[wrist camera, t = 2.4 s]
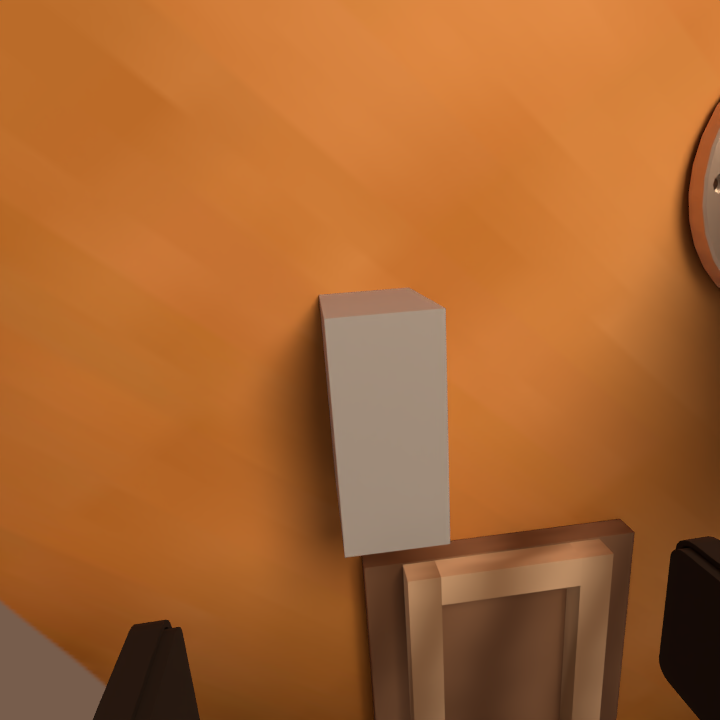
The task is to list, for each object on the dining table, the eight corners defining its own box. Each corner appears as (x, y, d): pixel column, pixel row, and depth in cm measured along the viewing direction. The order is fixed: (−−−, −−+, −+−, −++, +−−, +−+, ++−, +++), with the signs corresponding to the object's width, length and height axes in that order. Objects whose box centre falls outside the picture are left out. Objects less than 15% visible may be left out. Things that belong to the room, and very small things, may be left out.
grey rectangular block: (408, 287, 22) (445, 308, 16) (415, 474, 24) (450, 550, 18) (318, 294, 21) (324, 318, 16) (335, 483, 24) (345, 564, 18)
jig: (619, 519, 26) (650, 547, 24) (600, 747, 30) (624, 789, 28) (361, 552, 25) (367, 585, 23) (379, 785, 29) (386, 832, 27)
